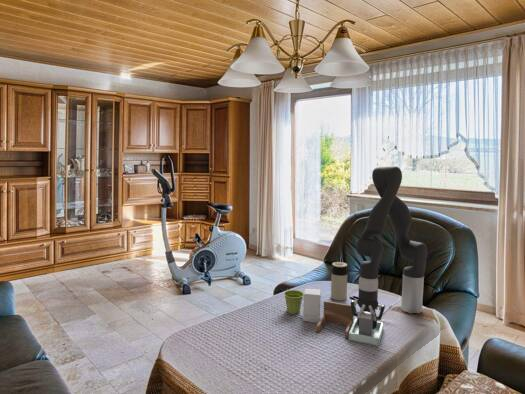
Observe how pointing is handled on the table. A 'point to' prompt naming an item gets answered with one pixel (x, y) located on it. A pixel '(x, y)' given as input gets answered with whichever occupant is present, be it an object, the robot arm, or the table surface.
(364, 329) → the grey rectangular block
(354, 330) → the tray
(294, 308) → the plant pot
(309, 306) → the supplement box
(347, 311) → the dock
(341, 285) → the travel mug
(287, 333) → the table surface
